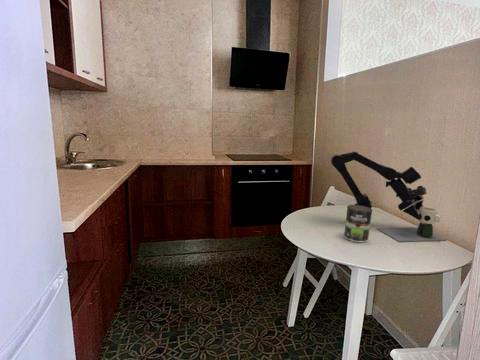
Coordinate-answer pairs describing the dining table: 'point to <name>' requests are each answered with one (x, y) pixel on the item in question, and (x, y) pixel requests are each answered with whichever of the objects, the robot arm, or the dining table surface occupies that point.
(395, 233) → the placemat
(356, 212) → the coffee can
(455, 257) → the dining table surface
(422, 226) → the character mug
